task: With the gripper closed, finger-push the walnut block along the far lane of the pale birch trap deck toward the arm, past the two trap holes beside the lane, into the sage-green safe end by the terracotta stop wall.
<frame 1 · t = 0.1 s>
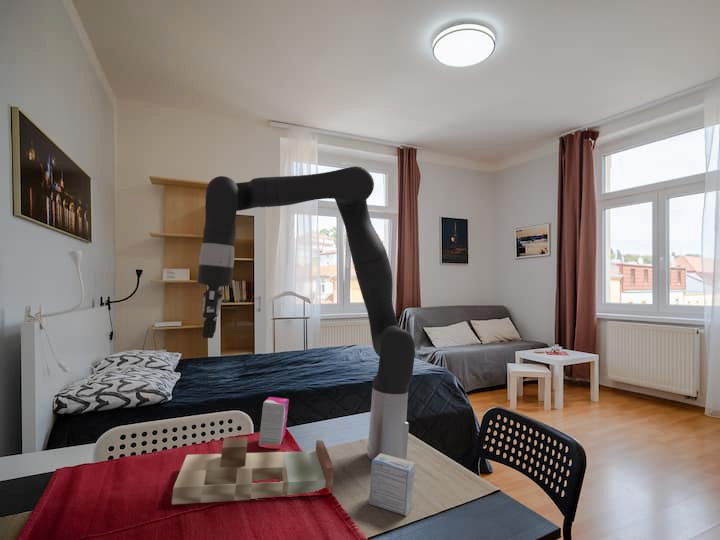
hand: (209, 335, 87), 29 cm above the table, fingers open, 8 cm apart
trap deck: (255, 481, 81), on the table
medicine box: (390, 506, 76), on the table
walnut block: (233, 461, 83), point 3 cm above the table, touching trap deck
supplement box: (271, 445, 100), on the table
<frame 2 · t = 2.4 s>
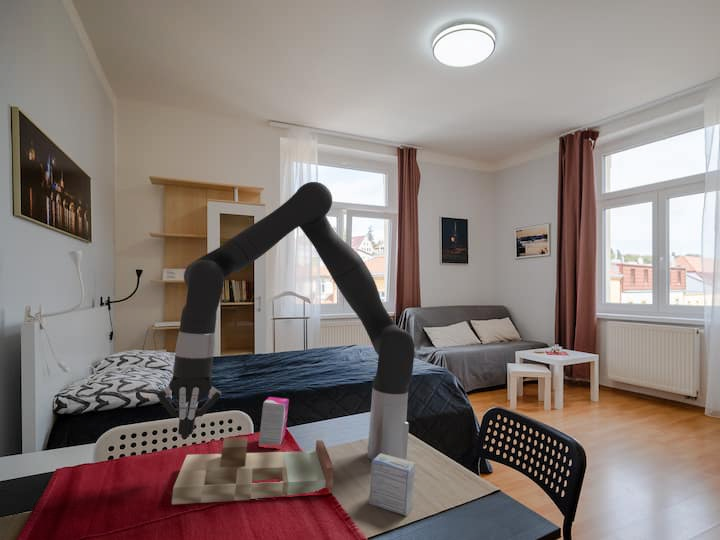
hand: (185, 435, 80), 8 cm above the table, fingers closed
nothing on the table moved.
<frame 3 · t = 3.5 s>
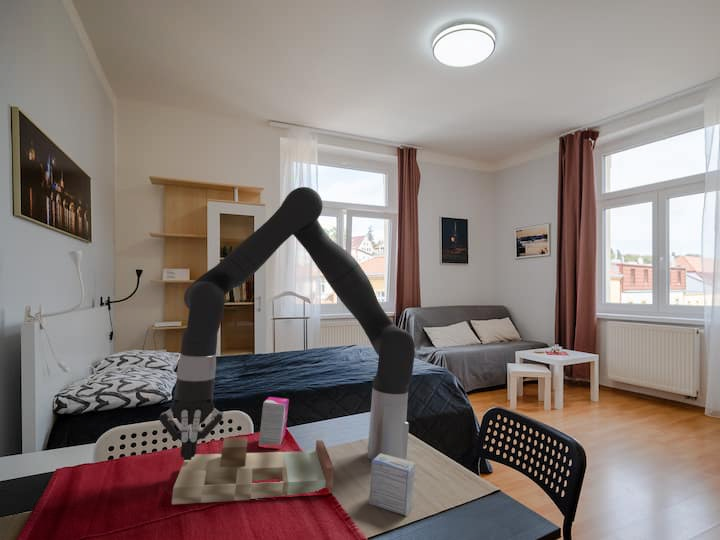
hand: (187, 458, 80), 4 cm above the table, fingers closed
nothing on the table moved.
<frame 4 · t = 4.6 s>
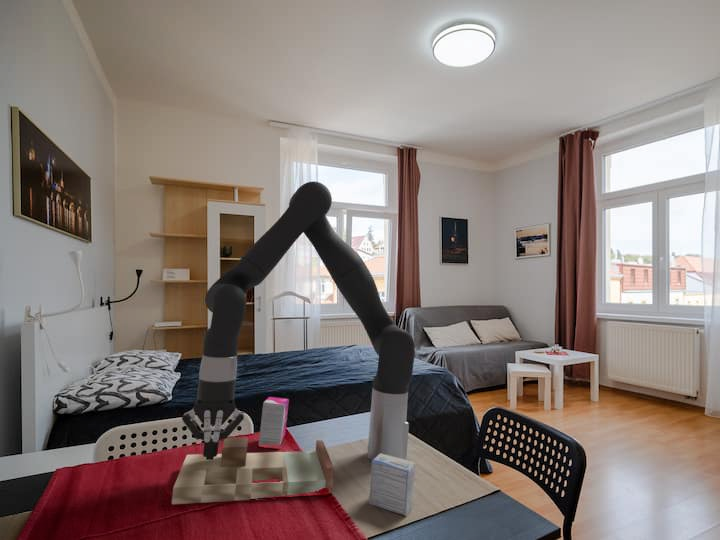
hand: (210, 458, 81), 4 cm above the table, fingers closed
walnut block: (233, 461, 83), point 3 cm above the table, touching gripper
everything else where it was.
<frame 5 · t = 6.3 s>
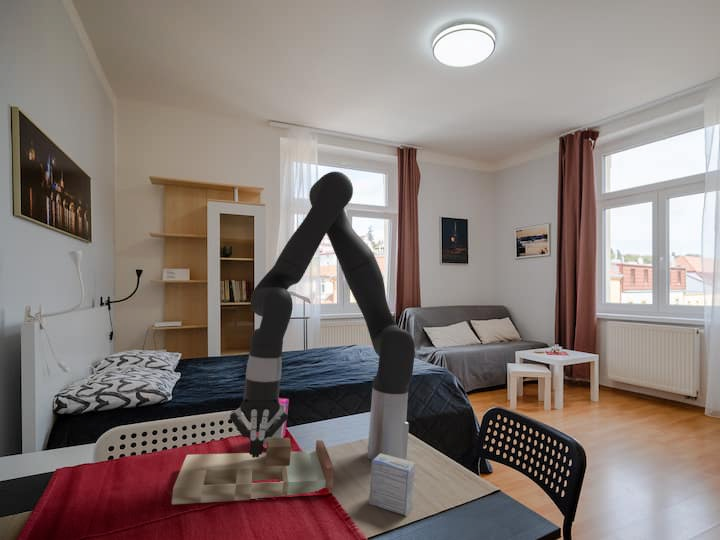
hand: (255, 455, 84), 4 cm above the table, fingers closed
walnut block: (277, 460, 85), point 3 cm above the table, touching gripper, trap deck
everything else where it was.
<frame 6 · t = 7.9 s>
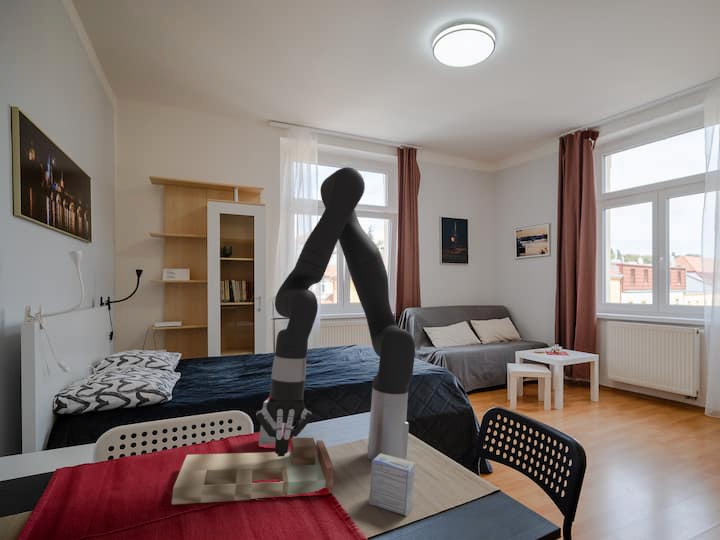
hand: (280, 454, 85), 4 cm above the table, fingers closed
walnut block: (302, 460, 86), point 3 cm above the table, touching gripper, trap deck
everything else where it was.
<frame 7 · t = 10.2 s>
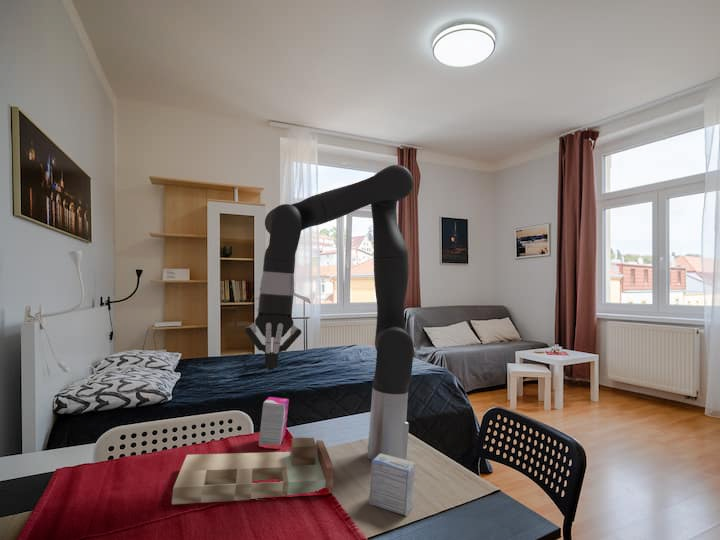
hand: (270, 369, 86), 23 cm above the table, fingers closed
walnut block: (302, 460, 86), point 3 cm above the table, touching trap deck
everything else where it was.
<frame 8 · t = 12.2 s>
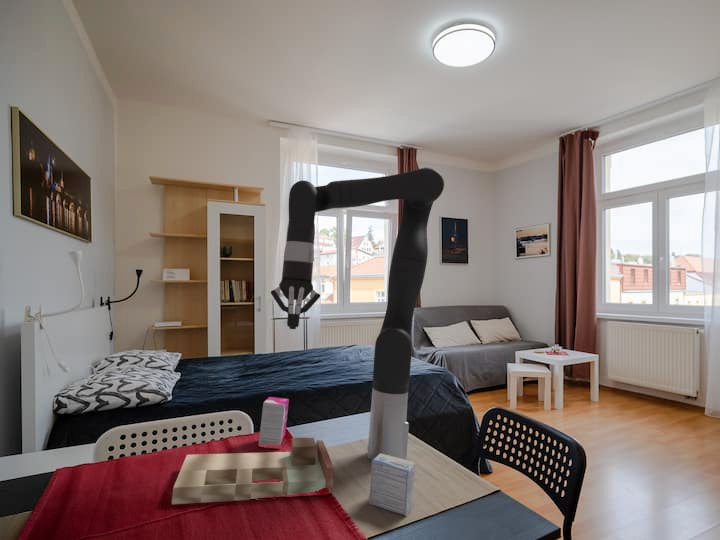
hand: (292, 328, 97), 31 cm above the table, fingers closed
nothing on the table moved.
at the end: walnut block inside the target area on the trap deck (0.7 cm from its centre), point 3.0 cm above the trap deck's base; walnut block tilted 0°; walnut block moved 14.8 cm from its start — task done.
